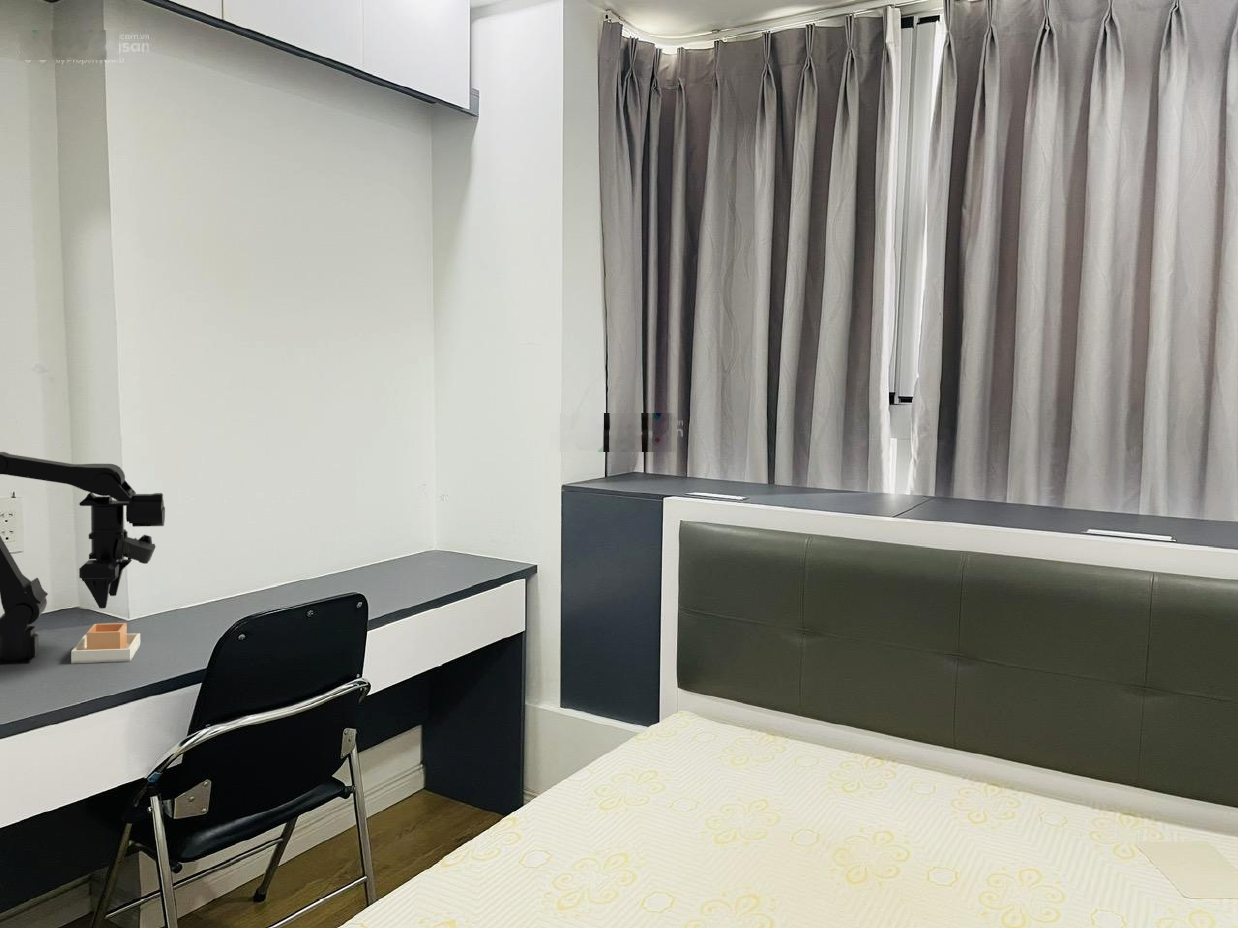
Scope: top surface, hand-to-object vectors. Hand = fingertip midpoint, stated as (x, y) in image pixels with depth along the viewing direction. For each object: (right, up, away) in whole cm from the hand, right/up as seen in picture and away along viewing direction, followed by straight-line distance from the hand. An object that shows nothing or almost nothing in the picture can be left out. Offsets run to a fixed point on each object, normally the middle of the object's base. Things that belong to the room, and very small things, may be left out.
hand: (108, 601), depth 183 cm
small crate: (-1, -10, +1) cm, 11 cm away
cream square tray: (-1, -11, +1) cm, 11 cm away
